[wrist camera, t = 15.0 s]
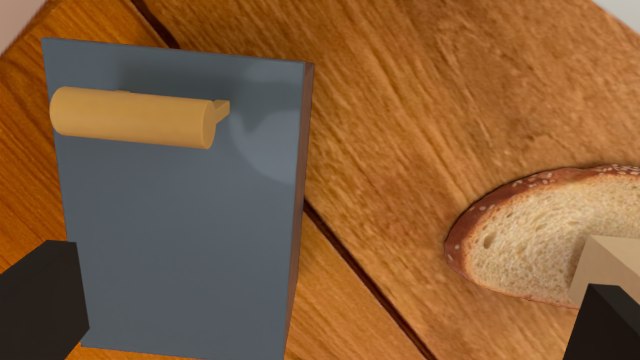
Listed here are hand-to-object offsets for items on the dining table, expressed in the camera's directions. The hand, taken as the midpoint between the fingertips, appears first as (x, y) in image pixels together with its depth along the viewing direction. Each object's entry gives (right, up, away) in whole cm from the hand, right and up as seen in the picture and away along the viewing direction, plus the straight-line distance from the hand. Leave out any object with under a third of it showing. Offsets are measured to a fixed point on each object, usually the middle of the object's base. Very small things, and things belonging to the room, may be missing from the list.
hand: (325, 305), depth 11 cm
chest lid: (-8, +1, +13) cm, 15 cm away
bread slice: (+21, -2, +22) cm, 31 cm away
